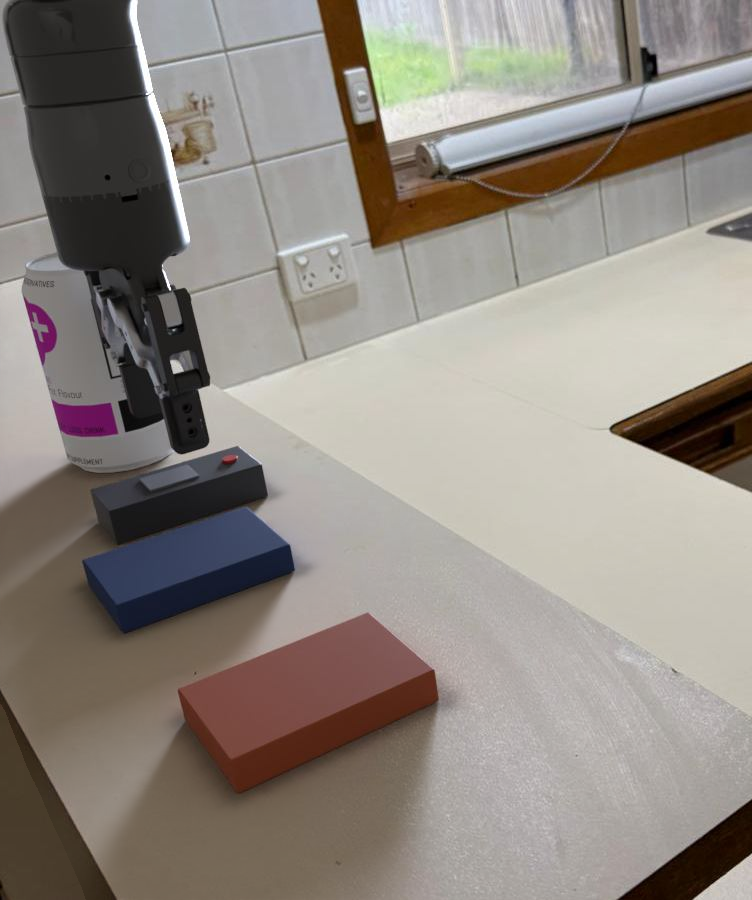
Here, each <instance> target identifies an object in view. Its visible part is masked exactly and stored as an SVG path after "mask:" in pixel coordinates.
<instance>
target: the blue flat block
mask: <svg viewBox="0 0 752 900" xmlns="http://www.w3.org/2000/svg"><path fill="white" fill-rule="evenodd" d="M81 562H82V566H83V569H84V574H85V577H86V580H87V585H88V587H89V588H90V590H91V591H92V592H93V593H94V595H95V596H96V598H97V599H98V600H99V602H100V604H101V605H102V606H103V608H104V609H105V610H106V612H107V613H108V615H109V616H110V617H111V619H112V620H113V621H114V623H115V624H116V626H117V627H118V628H119V630H120V631H121V633H122V634H126V633H129V632H132V631H135V630H137V629H140V628H143V627H145V626H149V625H151V624H154V623H157V622H160V621H162V620H165V619H167V618H171V617H173V616H176V615H178V614H181V613H184V612H186V611H189V610H192V609H195V608H197V607H201V606H203V605H206V604H208V603H211V602H214V601H216V600H219V599H221V598H225V597H227V596H230V595H233V594H236V593H238V592H241V591H244V590H246V589H249V588H252V587H255V586H258V585H260V584H263V583H266V582H269V581H271V580H274V579H276V578H279V577H282V576H284V575H288V574H290V573H293V572H295V571H296V568H295V564H294V563H295V562H294V557H293V552H292V546H291V544H290V543H289V542H288V541H287V540H285V539H284V538H283V537H282V536H281V535H280V534H279V533H278V532H276V531H275V530H274V529H273V528H272V527H271V526H269V525H268V524H267V523H266V522H265V521H264V520H263V519H261V517H259V516H258V515H257V514H256V513H255V512H254V511H252V510H251V509H250V508H249V507H247V506H243V507H240V508H236V509H233V510H230V511H227V512H225V513H221V514H218V515H215V516H212V517H209V518H206V519H203V520H199V521H196V522H194V523H191V524H188V525H185V526H181V527H179V528H175V529H172V530H170V531H166V532H163V533H159V534H157V535H154V536H150V537H147V538H145V539H142V540H138V541H136V542H131V543H129V544H126V545H123V546H120V547H117V548H114V549H111V550H108V551H105V552H102V553H99V554H96V555H93V556H90V557H87V558H84V559H82V560H81Z"/></svg>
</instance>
